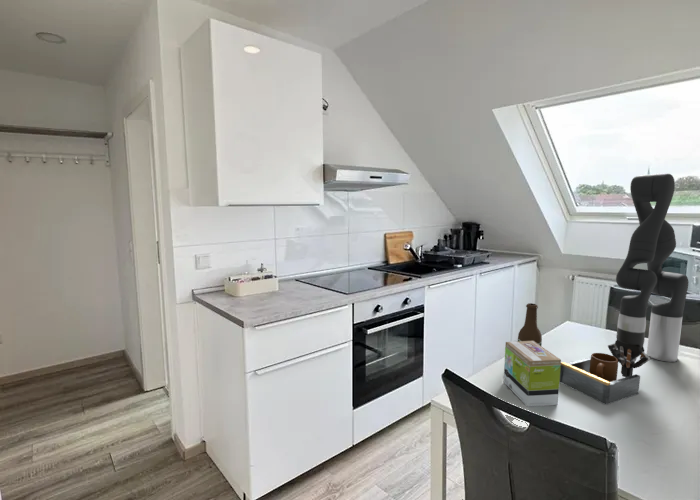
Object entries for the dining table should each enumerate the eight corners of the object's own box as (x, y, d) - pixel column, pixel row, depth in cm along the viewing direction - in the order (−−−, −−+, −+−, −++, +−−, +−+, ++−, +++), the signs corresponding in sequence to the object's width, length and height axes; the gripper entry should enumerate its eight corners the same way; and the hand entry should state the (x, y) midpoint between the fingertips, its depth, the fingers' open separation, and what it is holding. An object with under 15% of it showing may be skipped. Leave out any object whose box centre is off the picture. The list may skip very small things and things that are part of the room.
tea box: (502, 383, 126) (504, 340, 124) (530, 381, 127) (533, 339, 125) (526, 407, 112) (529, 359, 109) (559, 406, 112) (563, 358, 110)
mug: (611, 397, 117) (614, 368, 116) (582, 389, 122) (585, 361, 121) (617, 383, 126) (620, 356, 124) (591, 376, 131) (593, 350, 130)
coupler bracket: (590, 373, 133) (592, 354, 132) (638, 393, 119) (640, 373, 118) (559, 381, 127) (560, 362, 126) (605, 404, 113) (607, 383, 112)
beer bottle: (538, 366, 139) (542, 302, 136) (541, 375, 132) (546, 308, 128) (515, 362, 142) (519, 300, 138) (516, 371, 134) (521, 306, 131)
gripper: (660, 332, 122) (654, 383, 124) (617, 320, 134) (613, 366, 136) (646, 335, 119) (640, 387, 121) (603, 323, 131) (599, 370, 133)
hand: (626, 376), depth 129 cm, fingers closed
